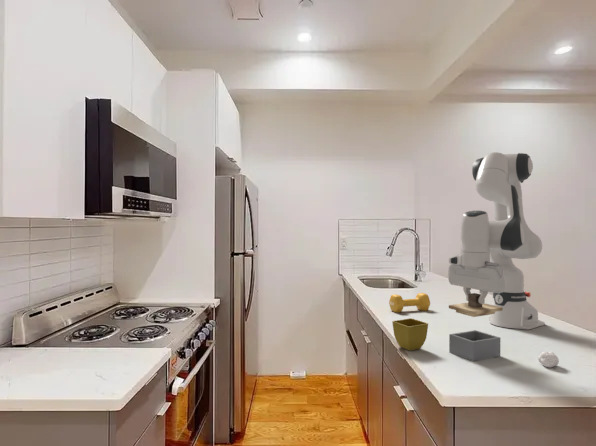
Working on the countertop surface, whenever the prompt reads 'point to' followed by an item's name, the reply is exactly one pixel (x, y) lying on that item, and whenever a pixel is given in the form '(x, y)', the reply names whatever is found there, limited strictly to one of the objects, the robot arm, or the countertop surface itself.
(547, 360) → the microfossil shell
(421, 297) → the dumbbell
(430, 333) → the countertop surface
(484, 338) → the box
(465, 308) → the lid
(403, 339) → the flower pot
